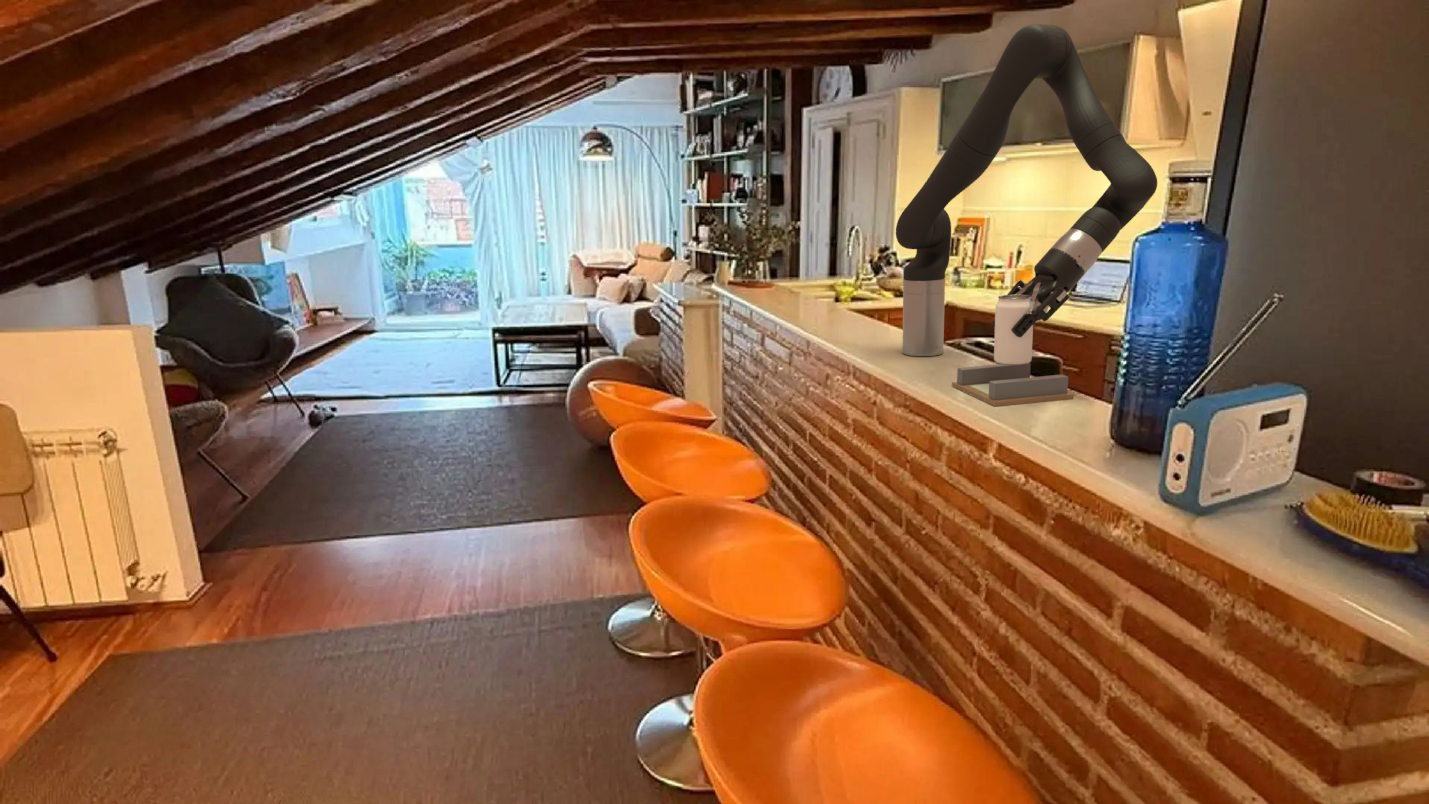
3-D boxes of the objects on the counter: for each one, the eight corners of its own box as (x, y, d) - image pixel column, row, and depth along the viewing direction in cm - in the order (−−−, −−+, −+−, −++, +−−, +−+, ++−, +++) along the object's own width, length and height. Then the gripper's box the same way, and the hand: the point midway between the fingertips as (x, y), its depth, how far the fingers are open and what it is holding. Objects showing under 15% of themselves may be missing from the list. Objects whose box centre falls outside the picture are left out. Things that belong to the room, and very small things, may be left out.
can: (1026, 357, 148) (1028, 293, 145) (1036, 364, 142) (1038, 297, 139) (990, 359, 149) (991, 295, 146) (998, 366, 143) (1000, 299, 140)
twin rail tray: (952, 386, 153) (952, 367, 152) (1023, 379, 156) (1024, 360, 155) (994, 406, 138) (995, 385, 137) (1073, 398, 140) (1074, 377, 140)
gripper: (1032, 245, 148) (972, 312, 150) (1079, 248, 135) (1013, 323, 136) (1057, 271, 151) (997, 338, 152) (1106, 277, 137) (1040, 351, 138)
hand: (1005, 331), depth 144 cm, fingers closed on can, 6 cm apart
